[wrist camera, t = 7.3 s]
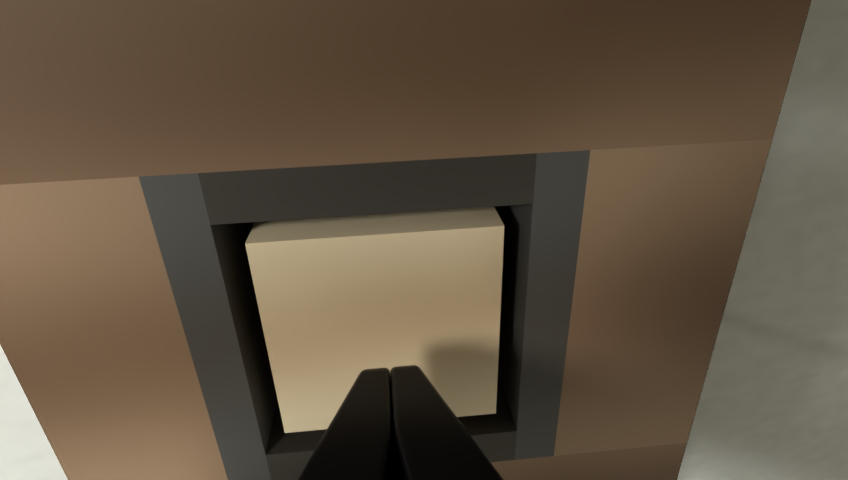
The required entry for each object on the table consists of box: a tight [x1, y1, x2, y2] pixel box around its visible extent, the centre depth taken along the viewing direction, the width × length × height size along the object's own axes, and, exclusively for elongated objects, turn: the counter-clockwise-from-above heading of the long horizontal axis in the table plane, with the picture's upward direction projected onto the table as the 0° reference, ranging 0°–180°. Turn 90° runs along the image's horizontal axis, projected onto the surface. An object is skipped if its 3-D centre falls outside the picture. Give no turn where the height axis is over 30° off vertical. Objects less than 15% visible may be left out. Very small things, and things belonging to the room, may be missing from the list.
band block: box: [0, 0, 811, 480], centre depth 14 cm, size 22×12×6 cm, turn 2°
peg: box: [245, 206, 504, 433], centre depth 12 cm, size 4×4×6 cm
